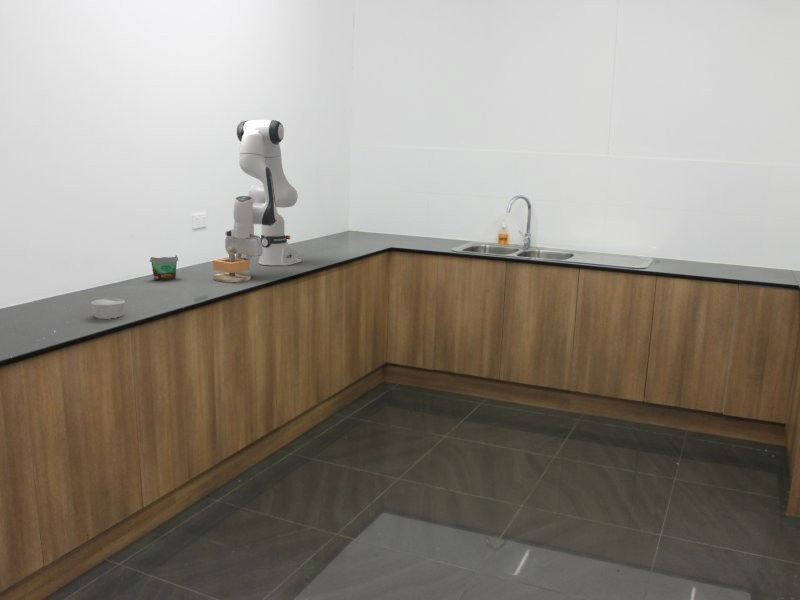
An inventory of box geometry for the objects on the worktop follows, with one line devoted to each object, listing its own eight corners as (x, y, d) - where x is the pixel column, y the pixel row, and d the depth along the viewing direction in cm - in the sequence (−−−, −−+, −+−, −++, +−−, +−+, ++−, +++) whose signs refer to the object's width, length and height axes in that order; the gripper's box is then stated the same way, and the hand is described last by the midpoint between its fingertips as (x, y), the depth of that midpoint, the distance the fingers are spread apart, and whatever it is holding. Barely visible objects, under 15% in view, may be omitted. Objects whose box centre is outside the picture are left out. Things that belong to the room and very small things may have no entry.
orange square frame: (231, 272, 335) (231, 263, 335) (213, 269, 341) (213, 260, 341) (255, 268, 348) (255, 259, 347) (238, 265, 354) (238, 256, 353)
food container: (156, 282, 332) (155, 259, 330) (150, 279, 336) (149, 256, 334) (183, 279, 340) (183, 256, 337) (177, 277, 344) (177, 254, 342)
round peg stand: (232, 274, 355) (232, 242, 352) (258, 278, 346) (258, 246, 343) (205, 279, 342) (205, 246, 339) (231, 284, 333) (231, 250, 330)
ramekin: (130, 313, 278) (129, 298, 276) (119, 320, 267) (119, 305, 266) (98, 312, 277) (97, 297, 276) (86, 319, 266) (85, 304, 265)
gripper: (265, 235, 343) (265, 266, 346) (233, 230, 354) (233, 260, 357) (255, 236, 338) (255, 267, 340) (222, 231, 349) (223, 262, 352)
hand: (244, 264), depth 349 cm, fingers closed on orange square frame, 3 cm apart
